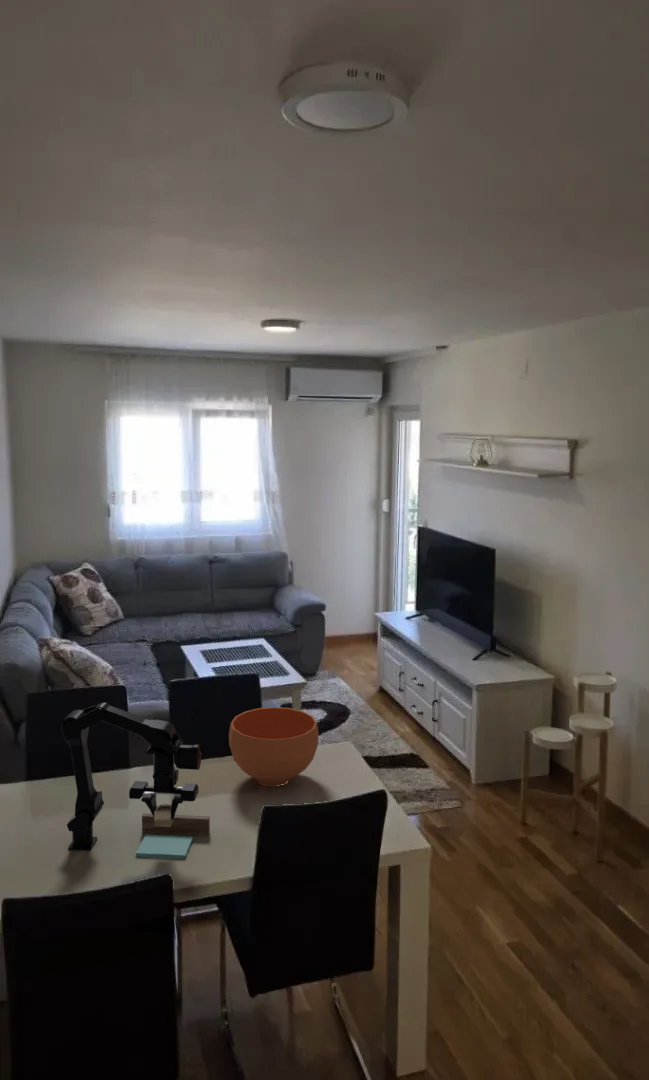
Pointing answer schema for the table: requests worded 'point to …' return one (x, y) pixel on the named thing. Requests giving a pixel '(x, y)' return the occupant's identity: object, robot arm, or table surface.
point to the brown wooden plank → (178, 825)
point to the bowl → (273, 743)
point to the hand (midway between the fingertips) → (164, 819)
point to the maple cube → (163, 815)
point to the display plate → (164, 846)
